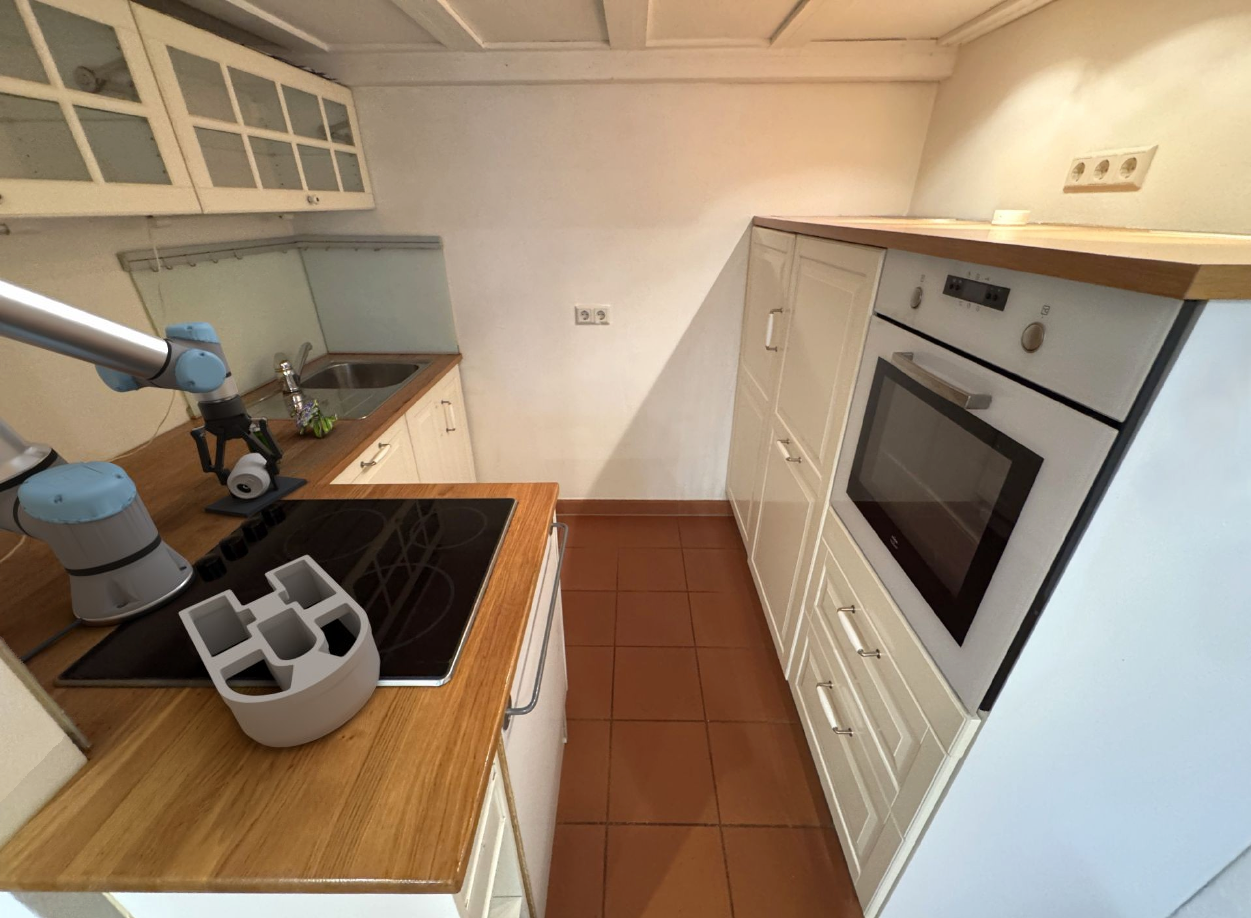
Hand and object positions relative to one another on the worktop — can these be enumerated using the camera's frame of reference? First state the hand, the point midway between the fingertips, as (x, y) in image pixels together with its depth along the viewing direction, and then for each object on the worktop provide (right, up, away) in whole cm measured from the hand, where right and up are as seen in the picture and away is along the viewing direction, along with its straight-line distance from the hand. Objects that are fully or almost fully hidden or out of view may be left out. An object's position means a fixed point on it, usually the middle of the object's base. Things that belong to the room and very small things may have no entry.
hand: (257, 491), depth 115 cm
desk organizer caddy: (+40, -22, -45) cm, 64 cm away
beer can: (-7, +5, +14) cm, 17 cm away
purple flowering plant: (-8, +16, +36) cm, 40 cm away
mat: (0, -1, +1) cm, 1 cm away
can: (-3, +6, +4) cm, 8 cm away
